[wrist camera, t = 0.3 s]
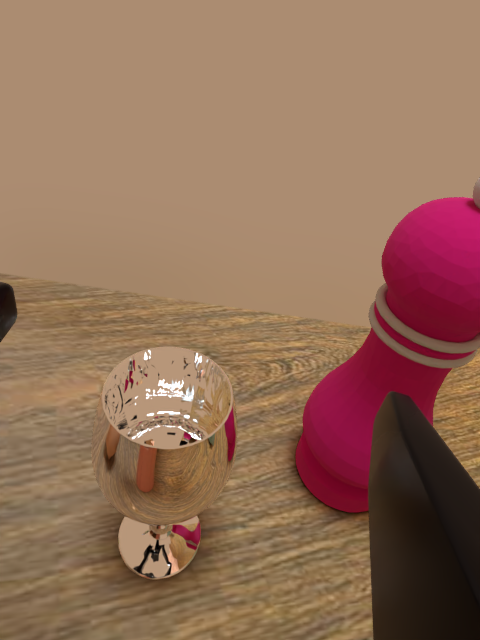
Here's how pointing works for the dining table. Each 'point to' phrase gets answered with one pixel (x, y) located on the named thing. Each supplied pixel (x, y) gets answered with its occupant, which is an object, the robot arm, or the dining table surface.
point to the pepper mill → (398, 346)
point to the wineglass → (163, 453)
